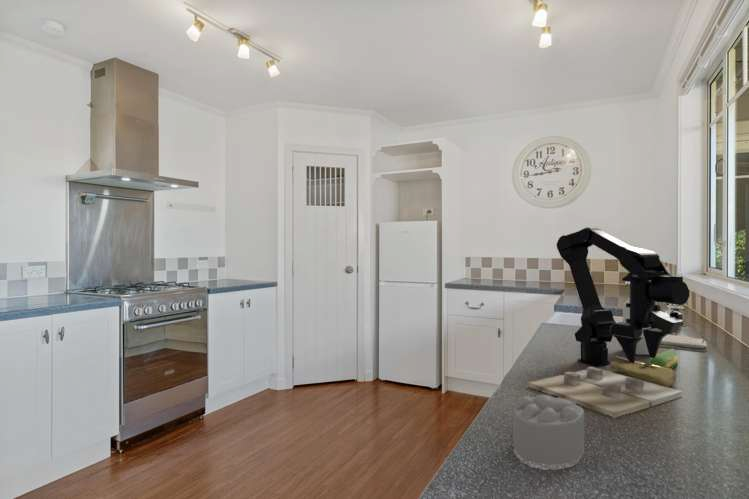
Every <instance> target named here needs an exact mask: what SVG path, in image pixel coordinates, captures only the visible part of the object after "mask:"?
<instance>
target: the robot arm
mask: <svg viewBox="0 0 749 499" xmlns="http://www.w3.org/2000/svg"><path fill="white" fill-rule="evenodd" d="M592 246H595V247H596V248H598V249H599V250H601V251H604V253H607V254H609V256H612V257H614V258H616V260H618V261H619V264H620V265H621V267H623V268H624V270H626V271H627V272H628V273H627V275H625V276H624V277H622V278H621V280H622V282H629V298H630V303H626V307H630V318H628V319H626V323H625V322H623V321H620V322H616V321H615V318H614V315H613V314H614V313H613V311H612V310H611V309H605V307H603V306H602V304H601V302H600V298H599V294H598V292H597V289H596V286H595V283H594V279H593V277H592V275H591V271H590V268H589V265H588V262H587V259H588V255H589V248H590V247H592ZM556 249H557V251H558V253H559V256H560V257H561V259H563V260H564V262H566V264H568V265H569V269H570V273H571V274H572V275H571V276H572V278H573V282H574V285H575V287H576V288H575V289H576V290H577V291H576V292H577V294H578V297H579V301H580V304H581V307H582V312H581V317H580V322H581V324H580V325H581V326H580V327H579V329H578V330H576V332H575V333H574V337H575V340H576V342H579V343H580V358H577V359H576V360H577V362H579V363H584V364H586V365H587V364H588V365H591V366H596V367H597V366H603V365H607V364H611V360H609V348H608V347H607V346H608V345H607V342H608V343H611V342H612V340H613V338H615V339H616V341H617V342H618V344H619V345H620V347H621V349H622V351H623V352H624V354H625V356H626V357H625V358H626V359H628V360H629V362H631V363H634V361H636V346H637V343H638V342H639V341H640V340H641V339H642V338H641V337H640V336H641V334H642V331H643V334H644V337H645V341H646V345H647V349H648V352H649V355H648V356H649V357H650V358H655V357H656V354H658V351H659V348H660V347H659V346H660V343H661V341H662V339H663V337H665V336H666V335H672V334H673V333H674V334H675V333H676V334H677V333H678V331H679V330H680V327H683V326H684V325H685V324H684V319H683V313H681V312H679V311H671V312H670V313H669V312H664V311H662V310H661V306H660V304H658V303H661V304H662V303H663V304H670V305H675V306H676V305H677V306H682V305H684V304H686V303H687V302H688V300H689V298H690V289H689V287H688V285H687V283H686V282H685V281H684V277H683V275H681V276H680V275H672V276H671V275H670V273H669V271H668V270H667V269H666V267H665V266H664V264H663V263H662V262H661V261H662V260H661V259H660V255H659V254H658V253H657V252H655V251H653V250H649V249H645V248H642V247H641V248H640V247H636V246H632V245H630V244H627V243H625V242H624V241H622V240H620V239H618V238H616V237H615V236H612V235H610V234H608V233H606V232H605V231H603V230H602V229H601V228H599V227H584V228H583V229H581V230H578V231H575V232H571V233H569V234H566V235H564V234H563V235H561V236H560V237H559V238H558V240H557V242H556Z"/></svg>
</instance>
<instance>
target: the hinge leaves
mask: <svg viewBox="0 0 749 499" xmlns="http://www.w3.org/2000/svg"><path fill="white" fill-rule="evenodd" d="M529 386H530V387H533V388H536V389H539V390H541V391H544V392H547V393H549V394H552V395H555V396H558V397H561V398H563V399H567V400H569V401H571V402H574V403H576V404H579V405H582V406H585V407H587V408H590V409H592V410H591V411H593V410H595V411H594V412H596V411H598V412H601V413H603V414H602V415H604V414H606V415H605V416H607V415H609V416H612V417H614V418H613V419H616V418H615V417H618V418H620V417H619V416H621V417H623V416H622V415H624V416H626V415H625V414H627V415H629V413H630V414H632V413H633V414H634V413H636V412H639V411H641V410H645V409H648V408H651V407H654V406H657V405H660V404H663V403H666V402H671V401H672V400H676V399H679V398H682V397H683V391H682V390H679V389H674V388H672V387H665V386H662V385H658V384H654V383H650V382H647V381H643V380H640V379H636V378H632V377H628V376H624V375H621V374H617V373H613V372H612V371H608V370H604V369H601V368H598V367H594V366H589V367H586V369H582V370H578V371H573V372H572V371H566V372H564V373H563V374H560V375H556V376H555V375H554V376H549V377H545V378H542V379H537V380H533V381H528V387H529ZM549 394H548V395H549ZM576 404H575V405H576ZM579 405H578V406H579ZM582 406H581V407H582ZM587 408H586V409H587ZM590 409H589V410H590ZM598 412H597V413H598ZM601 413H600V414H601ZM609 416H608V417H609ZM612 417H611V418H612Z"/></svg>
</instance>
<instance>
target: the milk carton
mask: <svg viewBox="0 0 749 499" xmlns="http://www.w3.org/2000/svg"><path fill="white" fill-rule="evenodd" d="M626 303H630V297H629V298H628V299H627V300H626V301H625V302H624V303H623V304H622V322H625V323H626V319H628V318H630V307H626ZM640 337H641V338H642V339H641V340H640V341H639V342H638V343H637V346H636V355H638V356H639V355H643V356H644V355H646V356H647V355H648V356H650V355H649V352H648V349H647V345H646V341H645V337H644V334H643V331H642V334H641V336H640ZM657 354H658V353H657ZM657 354H656V355H657ZM636 355H635V356H636Z"/></svg>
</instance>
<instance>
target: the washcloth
mask: <svg viewBox="0 0 749 499" xmlns="http://www.w3.org/2000/svg"><path fill="white" fill-rule="evenodd" d="M659 348H669V349H674V350H675V349H677V350H687V351H692V352H693V351H695V352H704V353H705V351H707V348H708V345H707V341H706V340H704V339H702V338H694V337H691V336H687V335H674V334H673V335H672V334H668V335H666V336H665V337H663V339H662V341H661V343H660V346H659Z"/></svg>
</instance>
